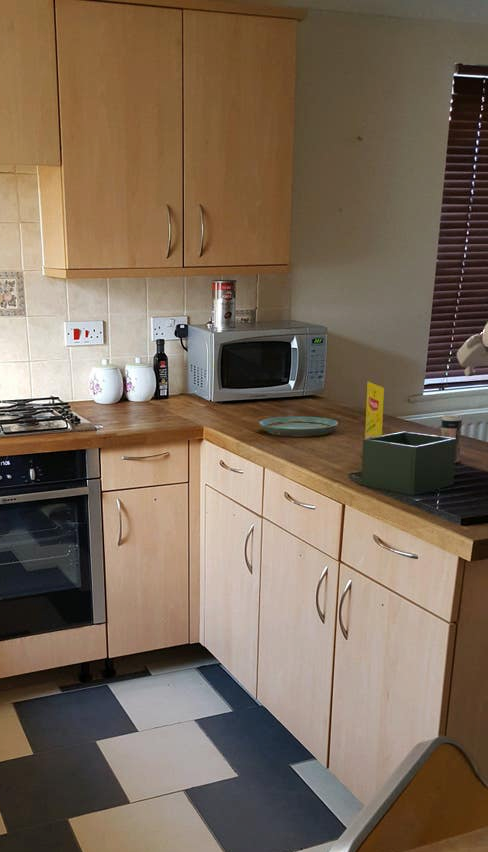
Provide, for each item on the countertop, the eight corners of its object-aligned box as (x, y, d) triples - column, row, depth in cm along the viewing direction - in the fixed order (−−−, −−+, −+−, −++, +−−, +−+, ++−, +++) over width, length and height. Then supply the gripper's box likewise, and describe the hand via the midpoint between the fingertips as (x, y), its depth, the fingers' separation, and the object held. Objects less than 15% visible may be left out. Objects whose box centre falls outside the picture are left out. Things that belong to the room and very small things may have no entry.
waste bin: (453, 485, 199) (456, 438, 196) (413, 496, 191) (416, 447, 187) (400, 476, 210) (403, 431, 207) (360, 485, 202) (362, 439, 198)
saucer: (302, 442, 258) (302, 430, 257) (243, 433, 276) (243, 423, 275) (353, 431, 273) (353, 420, 272) (294, 423, 290) (294, 413, 289)
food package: (362, 457, 233) (365, 381, 227) (366, 457, 233) (369, 381, 227) (377, 469, 219) (381, 388, 212) (382, 468, 219) (386, 387, 212)
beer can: (461, 464, 221) (464, 416, 218) (442, 464, 221) (445, 417, 218) (455, 460, 226) (458, 413, 222) (436, 460, 226) (439, 414, 222)
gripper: (479, 345, 189) (450, 386, 201) (561, 341, 194) (528, 381, 206) (469, 322, 192) (441, 364, 204) (550, 320, 196) (518, 360, 209)
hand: (485, 373), depth 205 cm, fingers open, 8 cm apart
